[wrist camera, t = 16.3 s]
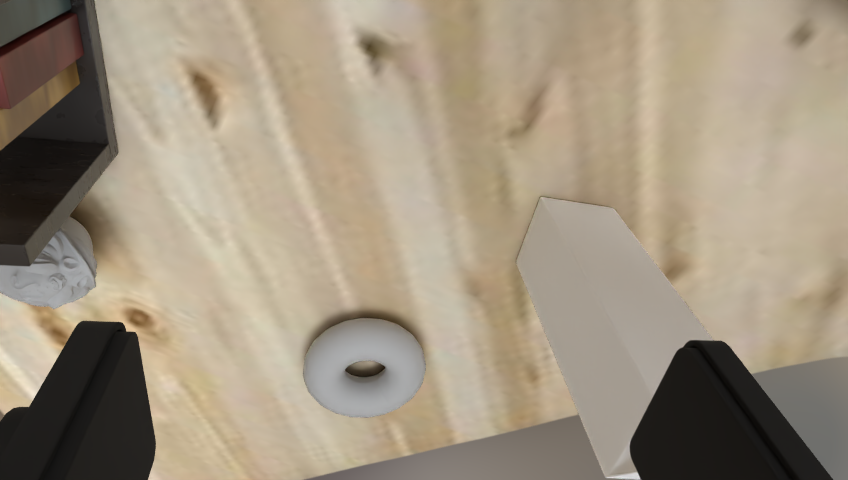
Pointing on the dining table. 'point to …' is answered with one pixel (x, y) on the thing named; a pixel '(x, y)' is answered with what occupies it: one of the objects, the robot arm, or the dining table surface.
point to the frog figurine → (54, 270)
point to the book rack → (49, 120)
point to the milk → (603, 319)
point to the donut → (364, 344)
